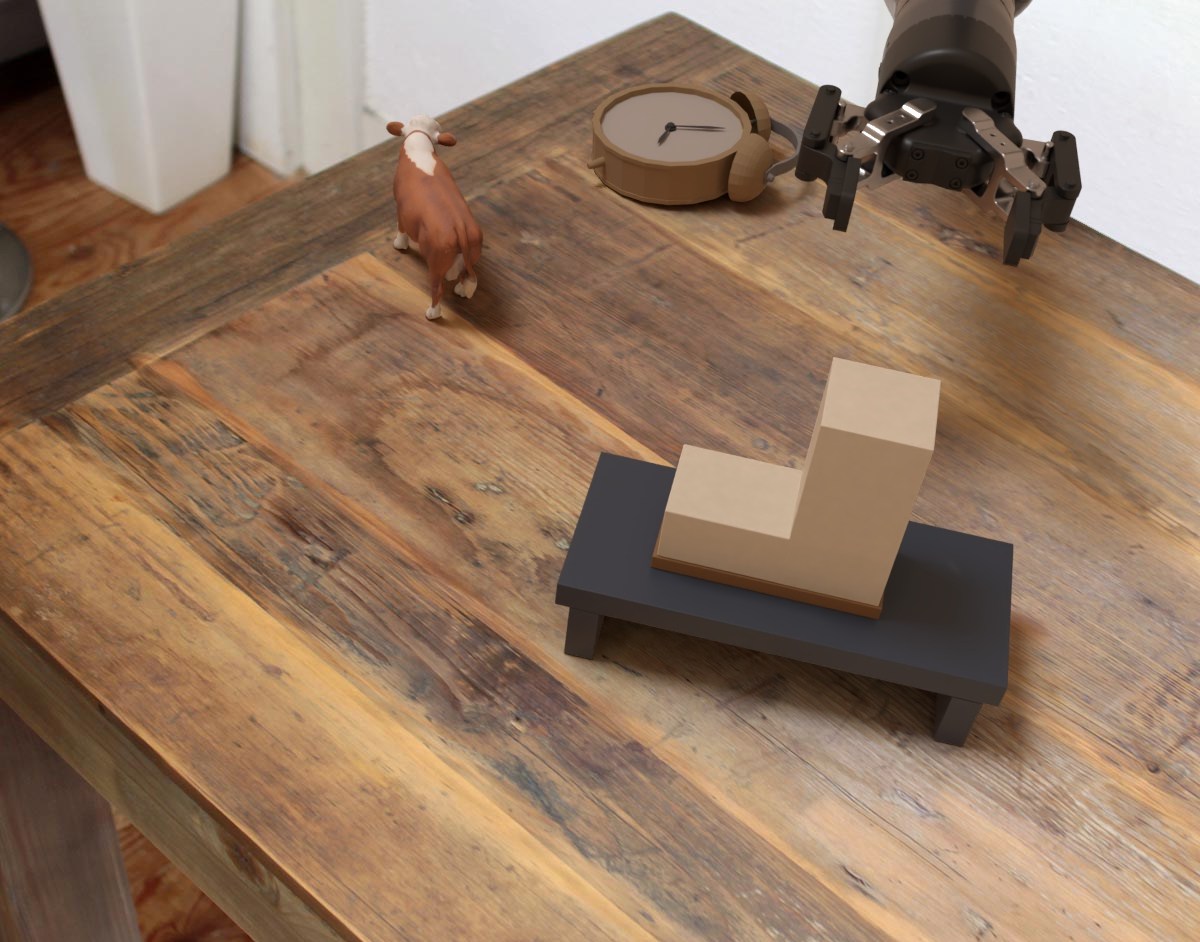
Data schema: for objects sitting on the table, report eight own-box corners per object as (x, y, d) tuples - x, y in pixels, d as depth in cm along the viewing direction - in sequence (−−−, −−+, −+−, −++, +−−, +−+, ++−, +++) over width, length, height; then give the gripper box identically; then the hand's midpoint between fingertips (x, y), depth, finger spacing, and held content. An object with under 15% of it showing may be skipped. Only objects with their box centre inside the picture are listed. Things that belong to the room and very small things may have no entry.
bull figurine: (443, 207, 101) (446, 97, 95) (487, 330, 92) (493, 217, 86) (379, 212, 100) (378, 100, 94) (418, 336, 91) (419, 223, 85)
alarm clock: (592, 79, 108) (799, 69, 107) (597, 140, 112) (797, 131, 110) (583, 162, 101) (806, 152, 99) (589, 225, 104) (804, 216, 103)
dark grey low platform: (985, 607, 80) (1014, 543, 77) (977, 750, 74) (1007, 688, 70) (592, 517, 82) (601, 450, 78) (549, 650, 75) (556, 583, 72)
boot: (887, 546, 76) (946, 379, 68) (878, 620, 72) (938, 453, 64) (669, 497, 77) (701, 326, 68) (650, 567, 73) (681, 395, 65)
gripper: (836, -12, 81) (801, 136, 70) (1096, 37, 80) (1101, 195, 69) (809, 113, 87) (772, 268, 76) (1051, 161, 86) (1050, 325, 75)
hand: (929, 233), depth 73 cm, fingers open, 8 cm apart
